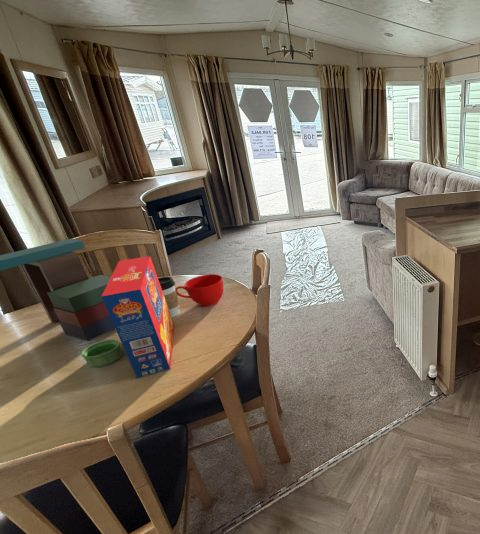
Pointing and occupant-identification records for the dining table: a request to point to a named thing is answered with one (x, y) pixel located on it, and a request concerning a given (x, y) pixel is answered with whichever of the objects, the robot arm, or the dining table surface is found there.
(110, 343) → the ramekin
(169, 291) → the coffee cup
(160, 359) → the cereal box
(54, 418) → the dining table surface
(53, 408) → the dining table surface
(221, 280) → the ceramic cup
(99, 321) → the book pile
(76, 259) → the walnut shelf
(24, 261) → the teal bar
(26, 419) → the dining table surface
